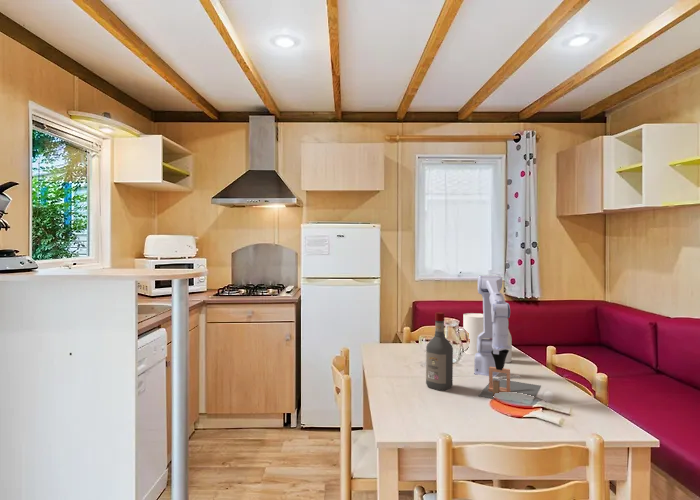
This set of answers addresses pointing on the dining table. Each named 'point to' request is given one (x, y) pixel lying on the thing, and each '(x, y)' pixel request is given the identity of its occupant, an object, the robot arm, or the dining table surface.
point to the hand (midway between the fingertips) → (499, 368)
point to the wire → (497, 382)
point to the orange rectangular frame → (491, 370)
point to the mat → (512, 388)
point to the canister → (473, 330)
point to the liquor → (439, 358)
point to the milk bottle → (509, 355)
